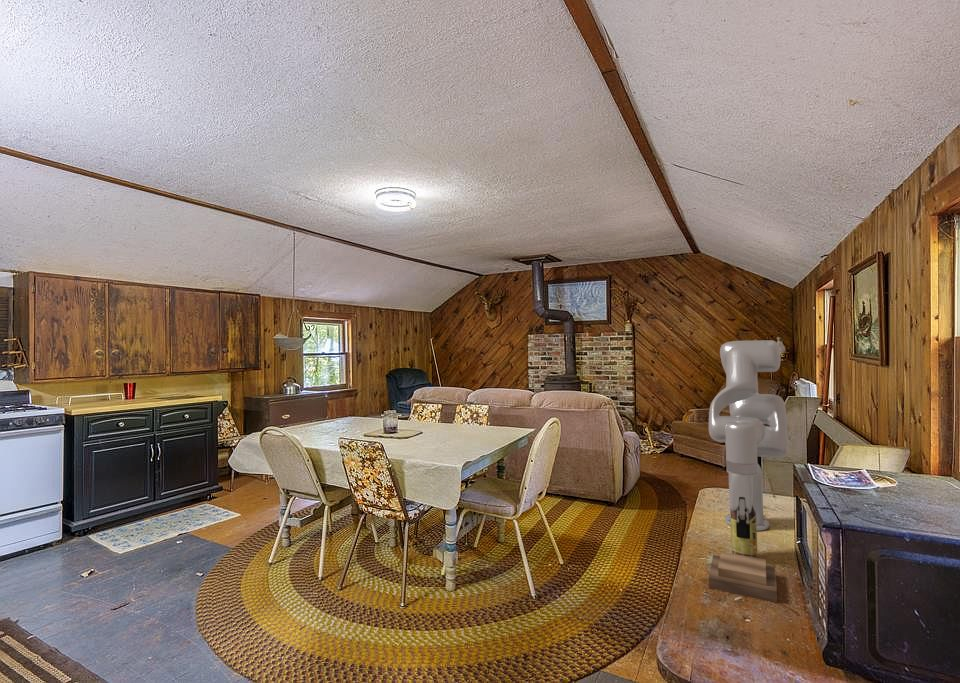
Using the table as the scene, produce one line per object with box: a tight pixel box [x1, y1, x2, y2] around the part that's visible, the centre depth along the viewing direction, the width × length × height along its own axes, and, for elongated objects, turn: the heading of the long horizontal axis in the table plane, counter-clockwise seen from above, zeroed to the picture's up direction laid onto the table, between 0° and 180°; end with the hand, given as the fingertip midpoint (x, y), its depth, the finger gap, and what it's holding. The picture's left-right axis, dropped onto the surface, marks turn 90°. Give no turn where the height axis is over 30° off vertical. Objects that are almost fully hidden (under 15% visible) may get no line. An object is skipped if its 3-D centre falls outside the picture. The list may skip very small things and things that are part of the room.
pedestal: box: [708, 551, 778, 603], centre depth 119 cm, size 14×14×4 cm
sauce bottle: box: [729, 497, 758, 558], centre depth 132 cm, size 6×6×20 cm
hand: (743, 532), depth 132 cm, fingers closed on sauce bottle, 6 cm apart
